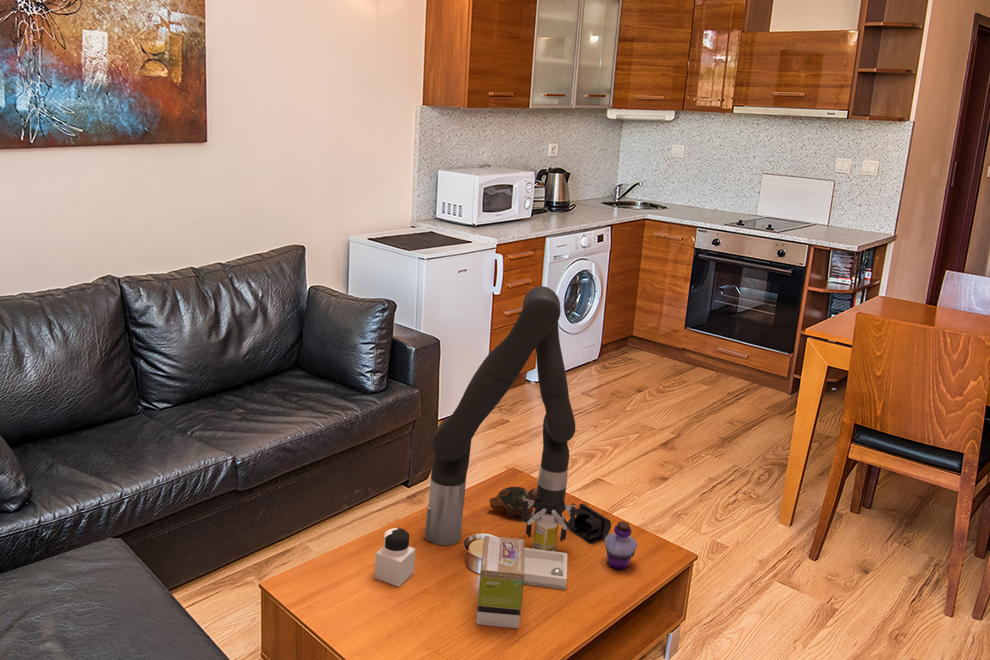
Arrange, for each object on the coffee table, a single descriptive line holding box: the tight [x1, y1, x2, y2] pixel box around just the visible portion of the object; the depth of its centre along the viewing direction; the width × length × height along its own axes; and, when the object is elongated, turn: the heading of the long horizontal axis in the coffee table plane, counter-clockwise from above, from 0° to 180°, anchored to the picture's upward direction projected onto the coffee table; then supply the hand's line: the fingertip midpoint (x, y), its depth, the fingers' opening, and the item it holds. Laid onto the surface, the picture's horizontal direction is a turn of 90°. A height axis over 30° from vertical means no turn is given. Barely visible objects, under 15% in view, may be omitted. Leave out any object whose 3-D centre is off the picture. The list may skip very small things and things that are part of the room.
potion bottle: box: [604, 520, 639, 571], centre depth 218 cm, size 9×9×12 cm
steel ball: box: [551, 568, 563, 576], centre depth 208 cm, size 3×3×3 cm
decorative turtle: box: [489, 486, 537, 519], centre depth 239 cm, size 10×15×8 cm, turn 102°
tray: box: [523, 547, 568, 591], centre depth 212 cm, size 14×12×3 cm
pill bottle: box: [532, 513, 559, 552], centre depth 222 cm, size 6×6×11 cm
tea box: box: [475, 535, 525, 629], centre depth 194 cm, size 15×10×15 cm
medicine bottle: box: [374, 527, 416, 587], centre depth 203 cm, size 7×7×12 cm
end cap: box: [568, 503, 612, 545], centre depth 233 cm, size 10×7×7 cm
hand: (545, 537), depth 223 cm, fingers open, 8 cm apart
